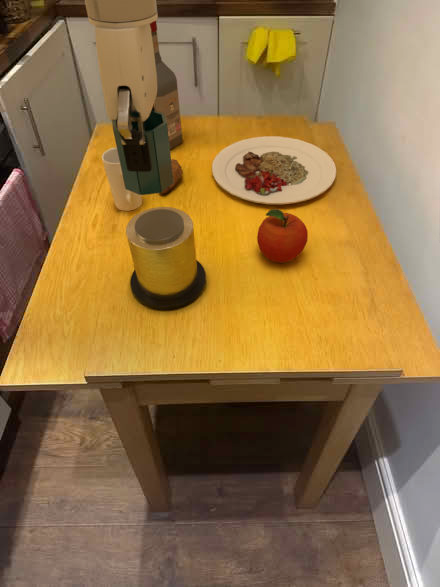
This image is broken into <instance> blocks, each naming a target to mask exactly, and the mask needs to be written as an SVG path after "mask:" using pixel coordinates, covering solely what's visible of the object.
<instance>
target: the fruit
mask: <svg viewBox="0 0 440 587" xmlns="http://www.w3.org/2000/svg"><path fill="white" fill-rule="evenodd" d="M265 216H267V217H266V218H264V219H263V220H262V222H261V223H260V225H259V227H258V230H257V236H256V242H257V246H258V249H259V251H260V253H261V254H262V255H263V256H264V257H265V258H266V259H267V260H269V261H271V262H274V263H279V264H280V263H281V264H283V263H287V262H291V261H293V260H295V259H296V258H298V257H299V256H300V255H301V254H302V253H303V251H304V250H305V248H306V246H307V243H308V240H309V239H308V238H309V237H308V236H309V235H308V228H307V226H306V224H305V223H304V222H303V220H301V218H299V217H298V216H296V215H295V214H292V213H289V212H283V210H280V209H279V208H272V209H270V210H269V211H267V212H266V213H265Z"/></svg>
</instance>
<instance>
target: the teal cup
mask: <svg viewBox="0 0 440 587" xmlns="http://www.w3.org/2000/svg"><path fill="white" fill-rule="evenodd" d="M131 117H139V112H131ZM117 121H118V118H117V120H115V121H111V124H112V125H111V126H112V132H113V136H114V140H115V142H114V143H115V147H117V151H118V156H119V161H120V165H121V170H122V175H123V180H124V185H125V189H126V190H129V191H131V192H134V193H136V194H139V195H141V194H142V196H146V195H147V196H148V195H156V194H160V193H161V192H163V191H164V190H165V189H167V188H168V187H169V186H171V185H172V184H173V173H172V163H171V160H172V155H171V150H170V145H169V135H168V126H167V120H166V117H165V114H164V113H161V112H158V111H155V110H151V112H150V115H149V117H148V118H147V119H146V120H145V121H144V124H145V141H148V145H149V152H150V158H151V165H152V169H151V171H150V172H136V171H128V170H127V166H126V161H125V155H124V150H123V145H122V142H121V137H120V132H119V130H118V126H117ZM131 124H132V129H136V130H137V132H138V133H139V129H138V123H131Z"/></svg>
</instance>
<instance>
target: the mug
mask: <svg viewBox="0 0 440 587" xmlns="http://www.w3.org/2000/svg"><path fill="white" fill-rule="evenodd" d="M101 159H102V164H103V167H104V171H105V174H106V178H107V181H108V185H109V189H110V191H111V196H112V199H113V203H114V205H115V208H116V209H118V210H119V211H124V212H131V211H134V210H137V209H138V208H140V207H141V206H142V204H143V195H142V194H141V195H139V194H136V193H134V192H131V191H129V190H126V189H125V185H124V180H123V175H122V170H121V165H120V161H119V156H118V151H117V146H115V147H111V148H108V149H107V150H105V151H104V152H103V153H102V154H101Z"/></svg>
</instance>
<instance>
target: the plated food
mask: <svg viewBox="0 0 440 587" xmlns="http://www.w3.org/2000/svg"><path fill="white" fill-rule="evenodd" d="M211 172H212V176H213V178H214V180H215V181H216V184H218V185H219V187H221V189H223V190H224V191H226V192H227V193H229V194H230V195H232V196H233V197H234V196H235V197H237V198H240V199H241V200H245V201H249V202H252V203H256V204H265V205H289V204H296V203H297V204H298V203H301V202H305V201H308V200H312V199H313V198H316V197H319V196H320V195H321V194H323V193H325V192H326V191H327V190H328V189H330V187H331V186H333V183H334V182H335V180H336V176H337V167H336V163H335V162H334V160H333V158H332V157H331V156H330V155H329V154H328V153H327V152H326V151H325V150H323V149H321V147H319V146H316V145H314V144H312V143H311V142H306V141H305V140H301V139H297V138H292V137H287V136H277V135H275V136H274V135H273V136H270V135H269V136H268V135H266V136H255V137H250V138H246V139H242V140H239V141H236V142H233V143H231V144H229V145H227V146H226V147H224V148H223V149H221V150H220V151H219V152H218V154H216V156H215V157H214V159H213V161H212V165H211Z"/></svg>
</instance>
